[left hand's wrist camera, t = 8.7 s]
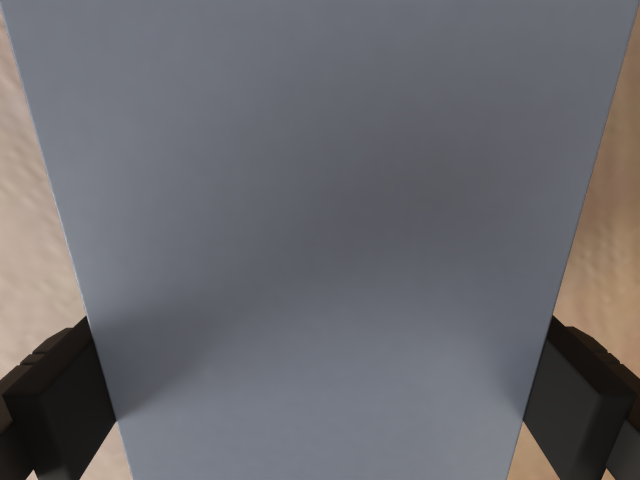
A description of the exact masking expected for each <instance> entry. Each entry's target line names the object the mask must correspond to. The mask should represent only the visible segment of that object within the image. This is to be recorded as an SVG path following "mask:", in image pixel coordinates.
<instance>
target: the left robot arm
mask: <svg viewBox="0 0 640 480" xmlns="http://www.w3.org/2000/svg"><path fill="white" fill-rule="evenodd" d="M523 421H524V423H525V424H526V426H527V428H528V429H529V431H530V432H531V434H532V435H533V437H534V439H535V440H536V442H537V443H538V445H539V447H540V448H541V450H542V451H543V453H544V455H545V456H546V458H547V459H548V461H549V463H550V464H551V466H552V467H553V469H554V470H555V472H556V474H557V475H558V477H559V478H560V480H601V479H602V477H603V474H604V472H605V470H606V468H607V469H608V471H609V472H610V473H611V474H612V476H613V477H614V478H615V480H640V379H639V378H638V377H637V376H636V375H635V374H634V373H633V372H631V371H630V370H629V369H628V368H627V367H626V366H625V365H623V364H620V361H619V360H618V359H617V358H615V357H614V356H613V355H612V354H611V353H608V352H607V350H606V349H605V348H604V347H603V346H602V345H601V344H600V343H598V342H597V341H596V340H595V339H594V338H593V337H591V336H589V335H587V334H586V333H584V332H582V331H580V330H579V329H577V328H575V327H565V326H564V325H563V324H562V323H561V322H560V321H559V320H558V319H557V318H555V317H554V316H553V315H552V318H551V322H550V326H549V329H548V333H547V336H546V340H545V344H544V347H543V351H542V354H541V358H540V362H539V365H538V369H537V372H536V376H535V379H534V383H533V387H532V390H531V394H530V397H529V401H528V405H527V408H526V412H525V415H524V419H523ZM115 422H116V419H115V415H114V412H113V408H112V404H111V401H110V397H109V394H108V390H107V387H106V383H105V379H104V376H103V372H102V369H101V365H100V362H99V358H98V355H97V351H96V347H95V344H94V340H93V337H92V333H91V330H90V326H89V322H88V319H87V315H86V316H85V317H84V318H83V319H82V320H81V321H80V322H79V323H78V324H77V325H75V326H74V327H73V328H65V329H64V330H62V331H60V332H58V333H57V334H55V335H53V336H51V337H49V338H48V339H46V340H45V341H44V342H43V343H42V344H41V345H40V346H38V347H37V348H36V349H35V350H34V351H33V352H32V354H29V355H28V356H27V357H26V358H25V359H24V360H23V361H22V362H20V365H19V366H16V367H15V368H14V369H12V370H11V371H10V372H9V373H8V374H7V375H6V376H5V377H3V378H2V379H1V380H0V480H26V478H27V477H28V476H29V475H30V473H31V472H32V471H33V469H34V471H35V473H36V476H37V478H38V480H79V479H80V478H81V476H82V475H83V473H84V471H85V470H86V468H87V467H88V465H89V463H90V462H91V460H92V459H93V457H94V455H95V454H96V452H97V451H98V449H99V448H100V446H101V444H102V443H103V441H104V440H105V438H106V436H107V435H108V433H109V432H110V430H111V428H112V427H113V425H114V424H115Z"/></svg>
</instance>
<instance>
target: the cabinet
mask: <svg viewBox="0 0 640 480" xmlns="http://www.w3.org/2000/svg"><path fill="white" fill-rule="evenodd" d="M639 2H640V0H0V9H1V12H2V16H3V19H4V23H5V27H6V30H7V34H8V37H9V41H10V44H11V48H12V52H13V55H14V59H15V62H16V66H17V69H18V73H19V76H20V80H21V84H22V87H23V91H24V94H25V98H26V101H27V105H28V109H29V112H30V116H31V119H32V123H33V126H34V130H35V133H36V137H37V141H38V144H39V148H40V151H41V155H42V158H43V162H44V166H45V169H46V173H47V176H48V180H49V183H50V187H51V191H52V194H53V198H54V201H55V205H56V208H57V212H58V215H59V219H60V223H61V226H62V230H63V233H64V237H65V240H66V244H67V248H68V251H69V255H70V258H71V262H72V265H73V269H74V273H75V276H76V280H77V283H78V287H79V290H80V294H81V297H82V301H83V305H84V308H85V312H86V315H87V319H88V322H89V326H90V330H91V333H92V337H93V340H94V344H95V347H96V351H97V355H98V358H99V362H100V365H101V369H102V372H103V376H104V379H105V383H106V387H107V390H108V394H109V397H110V401H111V404H112V408H113V412H114V415H115V419H116V422H117V426H118V429H119V433H120V436H121V440H122V444H123V447H124V451H125V454H126V458H127V461H128V465H129V469H130V472H131V476H132V479H133V480H507V476H508V473H509V469H510V466H511V462H512V458H513V455H514V451H515V448H516V444H517V441H518V437H519V433H520V430H521V426H522V423H523V419H524V415H525V412H526V408H527V405H528V401H529V397H530V394H531V390H532V387H533V383H534V379H535V376H536V372H537V369H538V365H539V362H540V358H541V354H542V351H543V347H544V344H545V340H546V336H547V333H548V329H549V326H550V322H551V318H552V315H553V311H554V308H555V304H556V300H557V297H558V293H559V290H560V286H561V283H562V279H563V275H564V272H565V268H566V265H567V261H568V257H569V254H570V250H571V247H572V243H573V239H574V236H575V232H576V229H577V225H578V221H579V218H580V214H581V211H582V207H583V204H584V200H585V196H586V193H587V189H588V186H589V182H590V178H591V175H592V171H593V168H594V164H595V160H596V157H597V153H598V150H599V146H600V142H601V139H602V135H603V132H604V128H605V125H606V121H607V117H608V114H609V110H610V107H611V103H612V99H613V96H614V92H615V89H616V85H617V81H618V78H619V74H620V71H621V67H622V63H623V60H624V56H625V53H626V49H627V45H628V42H629V38H630V35H631V31H632V28H633V24H634V20H635V17H636V13H637V10H638V6H639Z"/></svg>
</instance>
